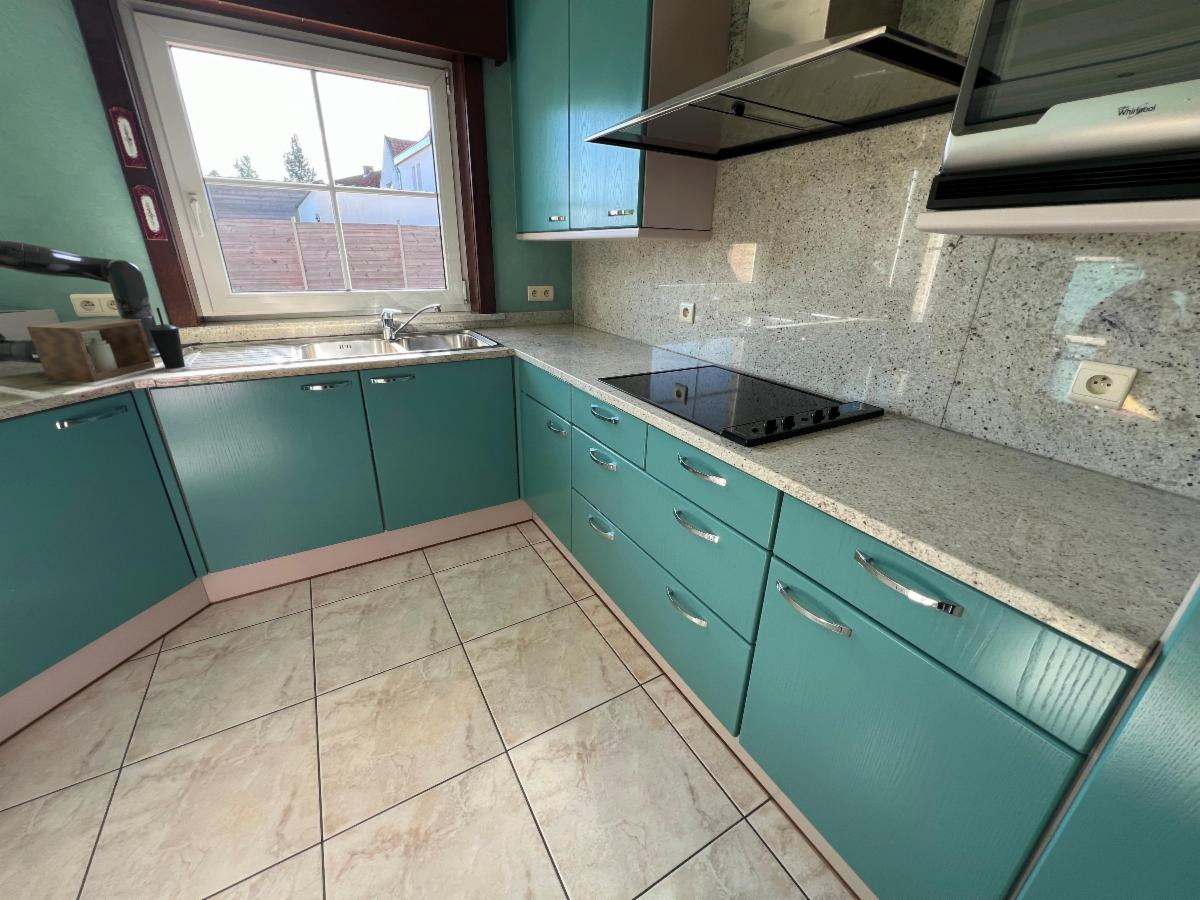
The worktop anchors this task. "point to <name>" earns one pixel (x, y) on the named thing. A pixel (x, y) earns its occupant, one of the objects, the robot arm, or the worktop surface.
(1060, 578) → the worktop surface
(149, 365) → the cabinet
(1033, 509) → the worktop surface
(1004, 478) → the worktop surface
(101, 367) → the bottle
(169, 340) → the drinking cup
